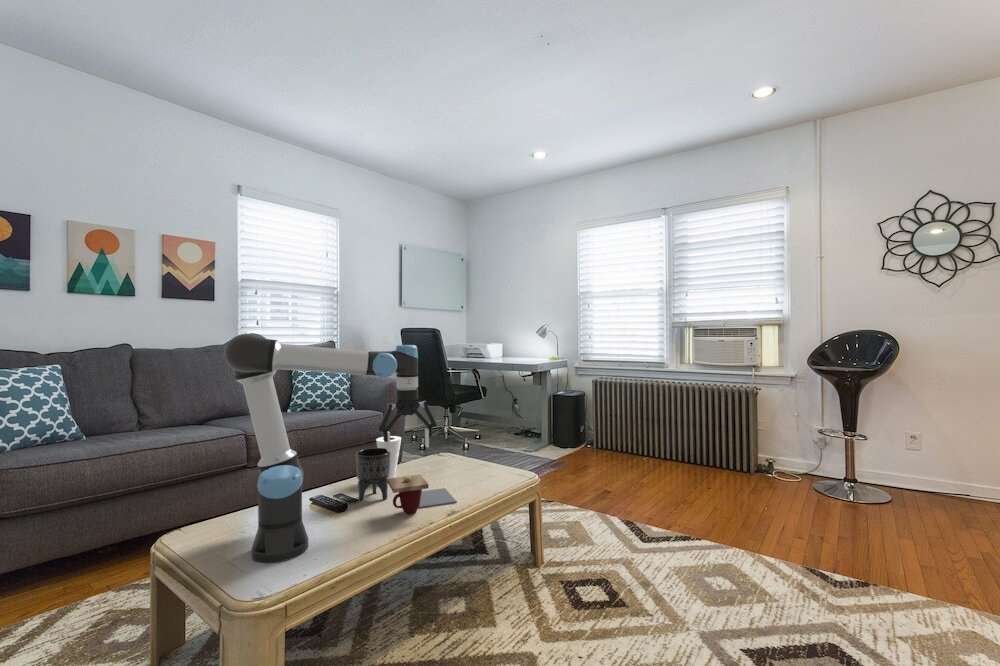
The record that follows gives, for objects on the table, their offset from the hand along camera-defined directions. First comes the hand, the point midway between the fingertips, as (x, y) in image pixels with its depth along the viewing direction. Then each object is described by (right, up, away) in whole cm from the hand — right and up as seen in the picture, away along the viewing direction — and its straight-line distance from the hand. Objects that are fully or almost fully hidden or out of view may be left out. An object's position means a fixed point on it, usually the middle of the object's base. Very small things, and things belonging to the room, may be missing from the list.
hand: (408, 448), depth 163 cm
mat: (+7, -23, +15) cm, 28 cm away
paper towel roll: (-16, -23, +37) cm, 46 cm away
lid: (0, -13, 0) cm, 13 cm away
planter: (-17, -23, +16) cm, 33 cm away
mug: (0, -23, 0) cm, 23 cm away
